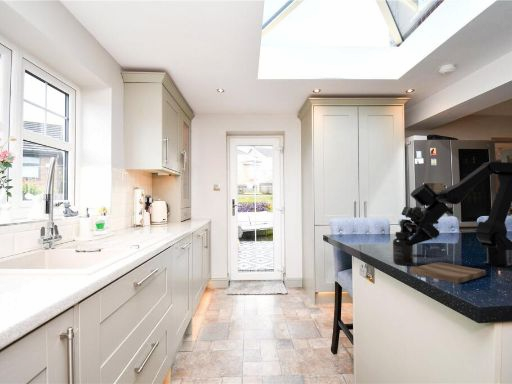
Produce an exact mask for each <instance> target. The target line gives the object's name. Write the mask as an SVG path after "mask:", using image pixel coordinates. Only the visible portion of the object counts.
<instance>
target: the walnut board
mask: <svg viewBox="0 0 512 384" xmlns="http://www.w3.org/2000/svg"><path fill="white" fill-rule="evenodd" d="M409 274H413V275H419V276H422V277H426V276H427V278H430V279H431V278H432V279H435V280H440V281H445V282H450V283H453V284H458V285H459V284H461V283H462V284H463V283H465V282H468V281H472V280H474V279H478V278H480V277H484V276H487V271H486V269H480V268H474V267H469V266H464V265H463V266H462V265H457V264H452V263H446V262H440V261H438V262H433V263H427V264H424V265H418V266H414V267H409Z"/></svg>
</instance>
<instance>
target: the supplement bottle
mask: <svg viewBox="0 0 512 384" xmlns="http://www.w3.org/2000/svg"><path fill="white" fill-rule="evenodd" d="M395 237H396V239H395ZM395 237H394V239H393V240H392V260H393V263H394V264H395V265H398V266H413V265H414V245H412V246H408V245H407V243H408V242H409V240H410V239H411V237H410V233H409V232H400V231H395ZM409 238H410V239H409Z"/></svg>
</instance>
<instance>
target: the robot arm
mask: <svg viewBox="0 0 512 384" xmlns="http://www.w3.org/2000/svg"><path fill="white" fill-rule="evenodd" d="M491 175H494V176H495V175H496V176H497V179H498V182H499V186H498V188H497V192H496V194H495V197H494V200H493V203H492V206H491V209H490V210H489V211H490V212H489V215H488V217H487V219H486V220H485V221H479V222H478V224H477V228H476V230H474V231H475V232H476V234H475V236H476V238H477V239H478V241H479V243H480V245H481V246H482V247H486V261H484V262H483V263H482V264H484V265H490V266H497V267H502V268H507V267H510V266H512V263H511V262H510V263H509V262H508V261H509V256H508V251H510V250H511V251H512V241H511V239H510V238H508V237H507V234H508V228H507V227H506V220H507V217H508V214H509V212H510V209H511V205H512V162H505V161H504V162H503V161H494V160H492V161H488V162H484V163H482V164H481V165H480V166H479V167H478V168H476V169H475V170H474V171H472V172H471V173H469V174H468V175H467V176H466V177H464V178H463V179H461V180H460V181H458V182H457V183H454V184H453V185H449V186H448V187H446V188H444V189H442V190H440V191H439V192H436V191H434V190H433V189H432V188H431V187H430V186H429V185H428V184H427V183H423V184H421V186H418V187H417V188H416V189H413V190H412V191H411V193H410V196H411V197H412V198H413V199H414V201H416V202H417V204H419V205H420V206H422V207H424V206H425V207H426V208H425V209H424V210H422V208H421V207H419V206H414V207H410V206H404V207H403V209H402V211H401V213H400V214H401V215H402V216H406V217H407V218H410V219H403V218H402V219H401V220H400V221H399V226H400V231H399V232H409V233H410V237H409V238H410V240H409V242H408V243H407V245H408V246H412V245H413V246H414V245H417V244H421V243H423V242H427V241H430V240H433V239H437V238H438V237H439V236H440V231H439V230H438V228H436V227H435V226H434V225H439V224H440V223H439V220H441V218H442V217H443V216H444V215H454V211H453V207H449V205H458V204H460V203H462V201H463V200H464V199H465V198H466V197H467V195H468V193H469V191H471V190H472V189H473V188H475V187H476V186H478V185H479V184H480V183H482V182H483V181H484V180H486V179H487V178H489V176H491Z"/></svg>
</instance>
